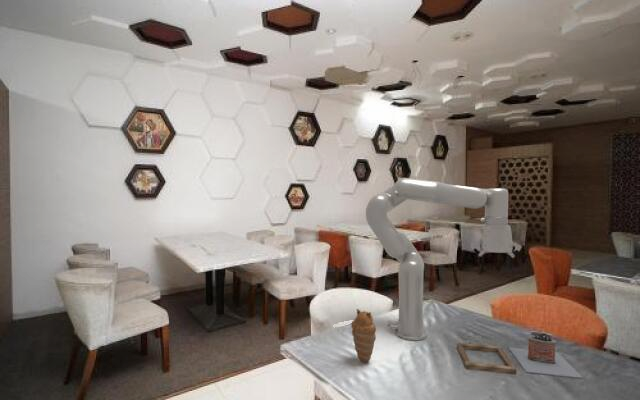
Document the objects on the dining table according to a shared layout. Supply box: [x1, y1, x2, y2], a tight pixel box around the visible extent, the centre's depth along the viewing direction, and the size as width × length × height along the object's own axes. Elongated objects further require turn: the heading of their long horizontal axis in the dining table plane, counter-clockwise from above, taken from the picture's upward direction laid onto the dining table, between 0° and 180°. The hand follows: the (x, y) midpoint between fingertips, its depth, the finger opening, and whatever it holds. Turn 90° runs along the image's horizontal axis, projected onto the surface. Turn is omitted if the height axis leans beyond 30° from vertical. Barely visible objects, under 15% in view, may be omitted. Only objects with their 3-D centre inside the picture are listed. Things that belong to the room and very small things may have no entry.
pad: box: [508, 347, 584, 380], centre depth 111 cm, size 16×16×1 cm
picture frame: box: [456, 342, 517, 375], centre depth 113 cm, size 15×15×2 cm
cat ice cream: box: [350, 308, 377, 363], centre depth 112 cm, size 9×8×18 cm
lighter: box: [527, 330, 557, 364], centre depth 112 cm, size 8×3×10 cm, turn 69°
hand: (494, 266), depth 121 cm, fingers open, 9 cm apart
